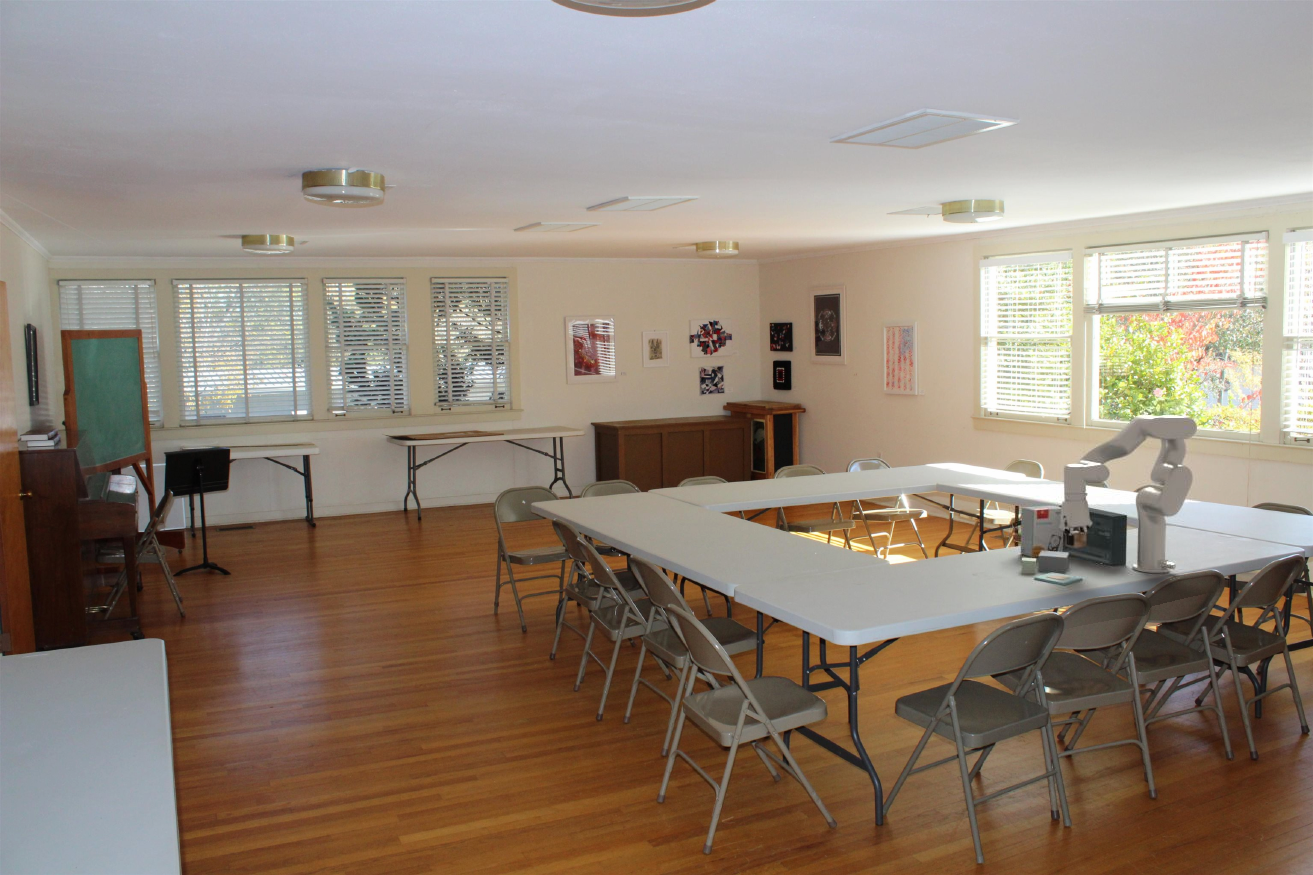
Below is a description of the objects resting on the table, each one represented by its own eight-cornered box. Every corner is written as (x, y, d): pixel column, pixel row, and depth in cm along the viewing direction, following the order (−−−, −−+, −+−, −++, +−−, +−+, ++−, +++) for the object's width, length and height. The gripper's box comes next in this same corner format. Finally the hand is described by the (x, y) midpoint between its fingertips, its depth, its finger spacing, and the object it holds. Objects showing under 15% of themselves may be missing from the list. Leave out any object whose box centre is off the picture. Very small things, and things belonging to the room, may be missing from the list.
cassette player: (1126, 565, 364) (1127, 515, 363) (1111, 566, 362) (1112, 516, 360) (1072, 550, 392) (1072, 504, 390) (1058, 552, 390) (1059, 505, 388)
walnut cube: (1076, 543, 354) (1076, 530, 354) (1086, 546, 349) (1086, 533, 349) (1065, 545, 352) (1065, 532, 352) (1075, 547, 348) (1075, 534, 347)
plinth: (1068, 567, 364) (1069, 552, 363) (1066, 572, 355) (1066, 557, 354) (1041, 565, 368) (1041, 550, 368) (1038, 570, 360) (1038, 555, 359)
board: (1082, 579, 343) (1082, 577, 342) (1064, 585, 336) (1064, 582, 336) (1052, 574, 352) (1052, 571, 352) (1034, 579, 345) (1034, 576, 345)
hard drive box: (1031, 557, 381) (1032, 510, 379) (1019, 554, 388) (1020, 507, 386) (1063, 554, 385) (1064, 507, 383) (1051, 551, 392) (1051, 504, 390)
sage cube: (1035, 571, 358) (1036, 558, 358) (1035, 573, 354) (1035, 561, 353) (1022, 570, 360) (1022, 557, 360) (1021, 573, 356) (1021, 560, 355)
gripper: (1085, 493, 355) (1086, 539, 357) (1049, 498, 350) (1050, 545, 352) (1100, 495, 348) (1101, 543, 350) (1064, 500, 343) (1065, 548, 345)
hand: (1076, 543), depth 351 cm, fingers closed on walnut cube, 5 cm apart
